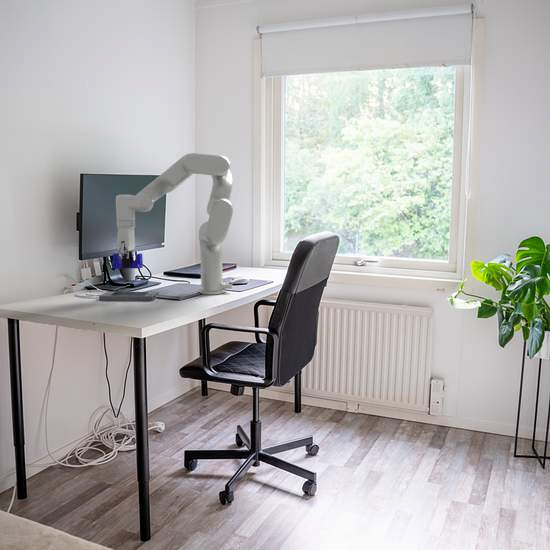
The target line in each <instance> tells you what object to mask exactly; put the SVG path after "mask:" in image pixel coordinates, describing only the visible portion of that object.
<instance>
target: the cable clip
mask: <svg viewBox="0 0 550 550" xmlns="http://www.w3.org/2000/svg"><path fill="white" fill-rule="evenodd" d="M135 256H136V257H135V259H134V262H133V263H132V264H130V268H129V269H143V266H144V265H143V263H144V262H143V261H144V259H143V252H142V253H137V254H135ZM111 269H113V270H118V269H119V270H123V269H125V270H126V269H127V268H122V258H121V256H120V253H119V252H116V253H112V261H111Z"/></svg>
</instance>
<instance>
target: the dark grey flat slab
mask: <svg viewBox="0 0 550 550" xmlns="http://www.w3.org/2000/svg"><path fill="white" fill-rule="evenodd" d="M158 294H159V295H160V291H106V292H103V293H102V294H100V295H99V296H98V299H99V300H98V301H102V302H103V301H105V302H107V301H108V302H109V301H111V302H112V301H113V302H154V301H155V300H156V299H157V295H158Z"/></svg>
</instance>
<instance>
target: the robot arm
mask: <svg viewBox="0 0 550 550" xmlns="http://www.w3.org/2000/svg"><path fill="white" fill-rule="evenodd" d="M230 169H231V162H230V161H229V159H228V158H227V157H226V156H224V155H220V154H219V155H218V154H204V153H195V152H194V153H193V152H191V153H186V154H185V155H183V156H181V157H180V158H178V160H177V161H176V162H175V163H173V164H172V165H171V166H170V167H168V168H167V169H166V170H165V171H163V172H162V173H161V174H159V175H158V176H157V177H156V178H155V179H153V180H152V181H151V182H150V183H149V184H147V185H146V186H145V187H143V189H141V190H140V191H138V193H136V195H135V194H134V195H132V194H117V195H116V196H115V212H116V228H117V235H116V236H117V237H116V238H117V243H116V244H117V247H116V249H117V252H118V253H119V252H120V253H119V254H120V255H121V256H120V259H121V260H122V268H126V269H131V268H130V264H132V263H133V262H134V261H135V259H134V250H135V248H136V238H135V228H136V213H135V212H142V213H146V212H150V211H151V210H152V209H153V207H154V204H155V202H156V201H157V200H159V199H160V198H162V197H163V196H164V195H167V194H169V193H171V192H173V191H174V190H176V189H177V188H179V187H180V186H181V185H182V184H183V183H184V182H186V181H187V180H188V179H189V178H190V177H191V176H193V175H203V176H204V175H205V176H211V178H212V186H211V191H210V195H209V200H208V202H207V205H206V213H207V215H208V216H209V217H208V221H205V222H203V223H202V224H201V225H200V226H199V230H198V240H199V249H200V250H199V251H200V252H199V253H200V282H201V283H200V285H201V288H199V289H198V290H197V293H198V292H200V293H202V294H201V295H209V296H211V295H222V294H225V293H227V289H228V290H230V289H233V284H231V283H225V280H224V281H223V278H224V277H223V248H222V247H223V246H222V244H223V242H225V240H226V238H227V236H228V233H229V230H230V225H231V222H232V219H233V218H232V217H233V214H234V212H233V211H234V208H233V204H232V203H231V202H230V199H231V194H232V190H233V176H232V174H231V171H230ZM200 293H199V294H200Z"/></svg>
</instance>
